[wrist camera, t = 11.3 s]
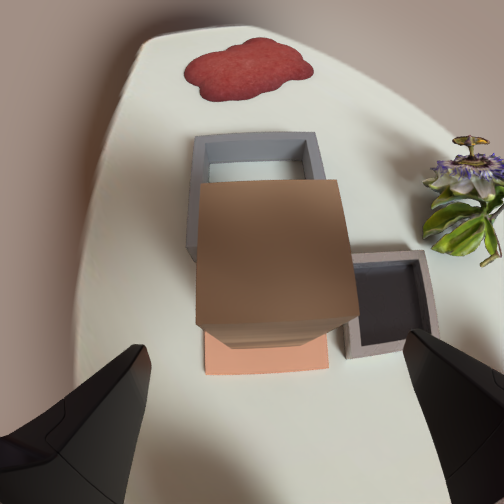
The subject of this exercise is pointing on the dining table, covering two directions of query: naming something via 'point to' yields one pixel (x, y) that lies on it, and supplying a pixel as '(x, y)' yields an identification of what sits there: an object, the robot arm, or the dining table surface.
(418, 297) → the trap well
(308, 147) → the channel
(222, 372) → the pad
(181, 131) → the dining table surface
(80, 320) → the dining table surface
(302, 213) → the walnut block
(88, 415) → the robot arm
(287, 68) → the patty
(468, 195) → the passion flower
